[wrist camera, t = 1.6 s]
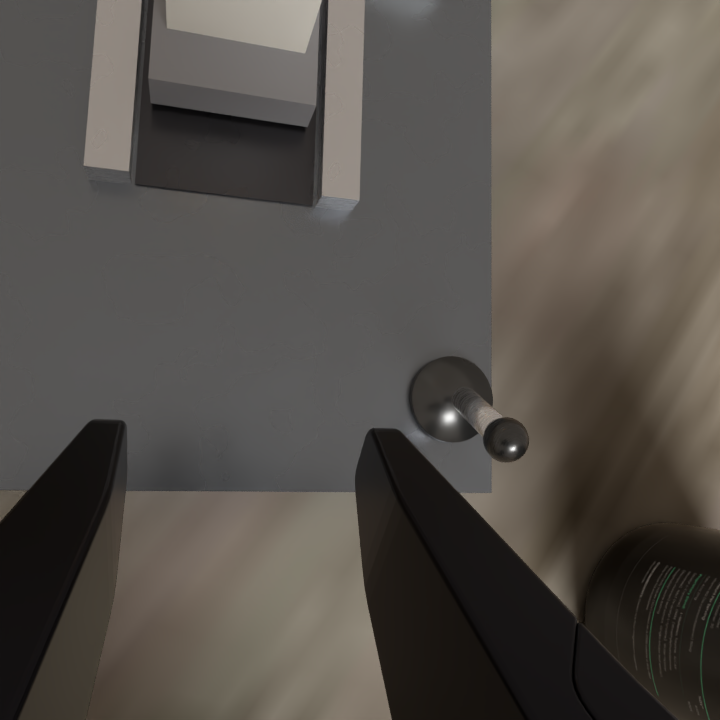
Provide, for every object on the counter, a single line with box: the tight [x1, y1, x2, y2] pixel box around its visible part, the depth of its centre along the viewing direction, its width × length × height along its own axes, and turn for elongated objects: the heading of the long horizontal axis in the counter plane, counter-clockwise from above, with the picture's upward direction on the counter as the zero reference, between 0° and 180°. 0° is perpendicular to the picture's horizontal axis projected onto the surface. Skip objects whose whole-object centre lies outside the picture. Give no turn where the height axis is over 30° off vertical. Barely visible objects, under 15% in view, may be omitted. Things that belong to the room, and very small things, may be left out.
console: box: [0, 0, 493, 493], centre depth 21 cm, size 24×18×2 cm
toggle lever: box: [452, 387, 529, 462], centre depth 19 cm, size 1×1×4 cm
